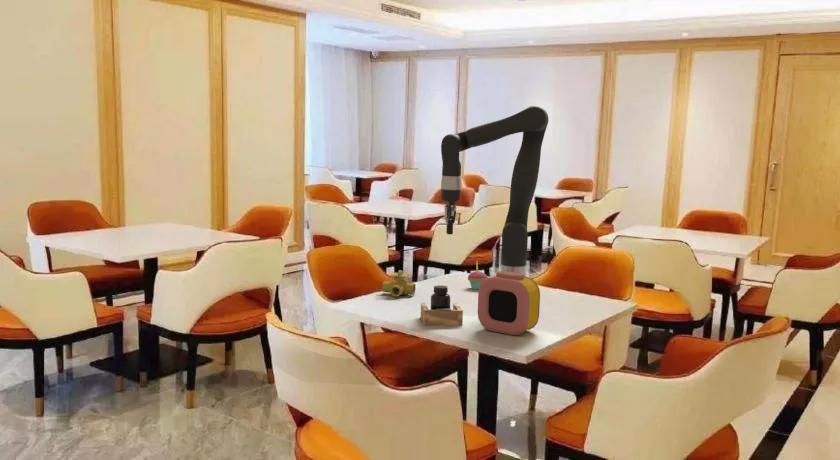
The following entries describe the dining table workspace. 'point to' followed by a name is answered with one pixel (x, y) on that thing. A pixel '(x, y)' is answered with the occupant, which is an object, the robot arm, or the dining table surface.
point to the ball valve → (399, 285)
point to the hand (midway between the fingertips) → (449, 234)
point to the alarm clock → (508, 303)
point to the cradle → (442, 315)
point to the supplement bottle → (440, 298)
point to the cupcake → (476, 278)
